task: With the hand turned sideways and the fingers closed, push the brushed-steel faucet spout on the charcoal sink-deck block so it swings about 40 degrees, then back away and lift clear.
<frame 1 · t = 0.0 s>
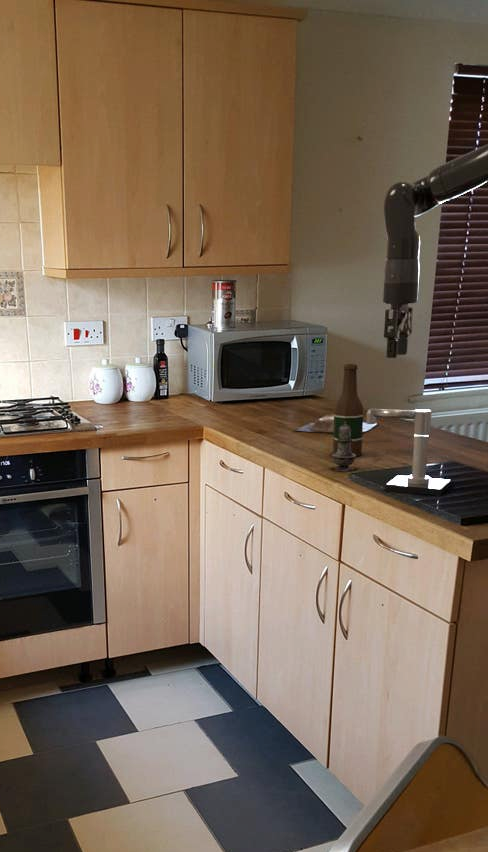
hand: (396, 356, 198), 28 cm above the countertop, tool pointing down, fingers open, 8 cm apart
spout: (397, 421, 195), point 15 cm above the countertop, hinge at 0.0°
faucet base: (417, 488, 198), on the countertop
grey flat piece: (337, 428, 279), on the countertop
grey figurine: (343, 470, 219), on the countertop
pill bottle: (348, 444, 253), on the countertop
beer bottle: (347, 455, 237), on the countertop
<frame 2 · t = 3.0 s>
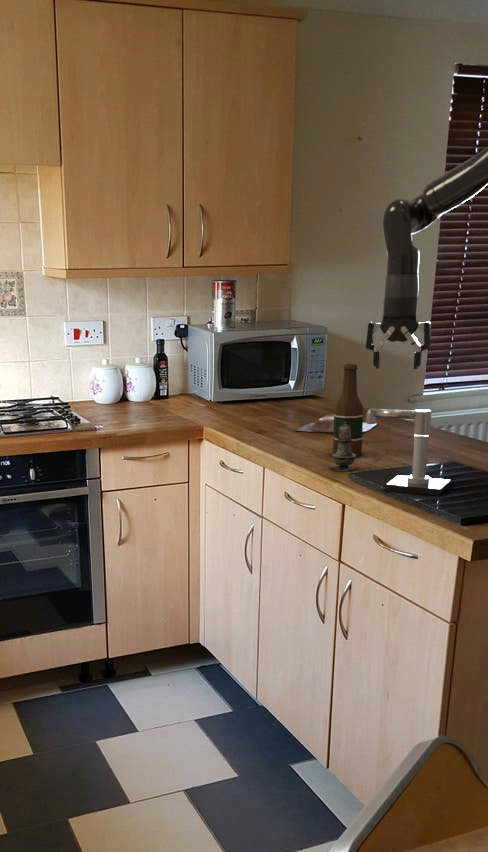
hand: (396, 368, 203), 25 cm above the countertop, tool pointing down, fingers open, 8 cm apart
nothing on the countertop moved.
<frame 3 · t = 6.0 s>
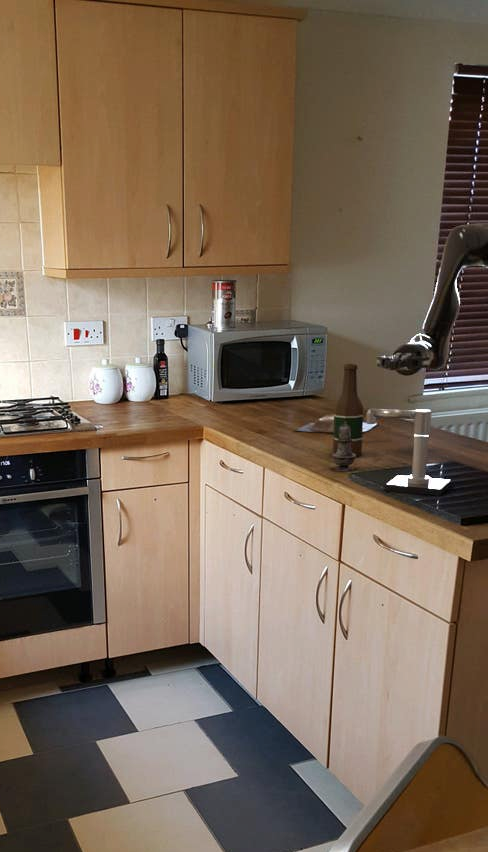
hand: (392, 365, 201), 26 cm above the countertop, tool horizontal, fingers closed
nothing on the countertop moved.
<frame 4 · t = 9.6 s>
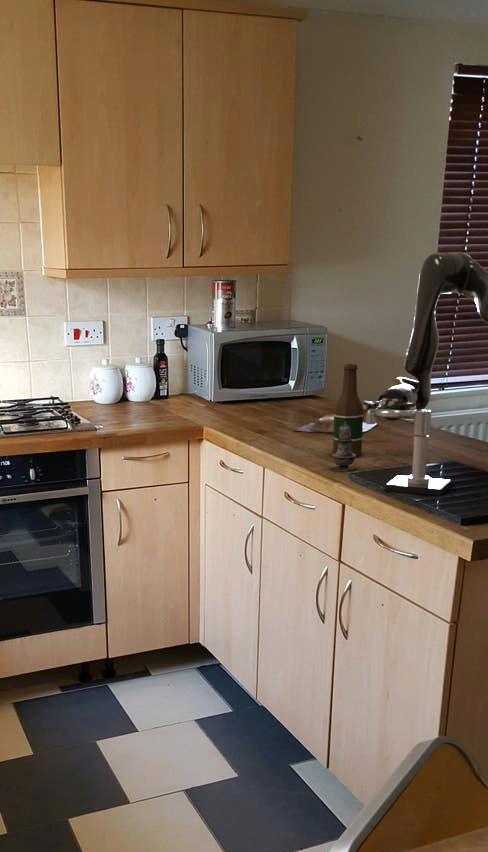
hand: (380, 412, 197), 16 cm above the countertop, tool horizontal, fingers closed
spout: (397, 421, 195), point 15 cm above the countertop, hinge at 1.1°, touching gripper
everything else where it was.
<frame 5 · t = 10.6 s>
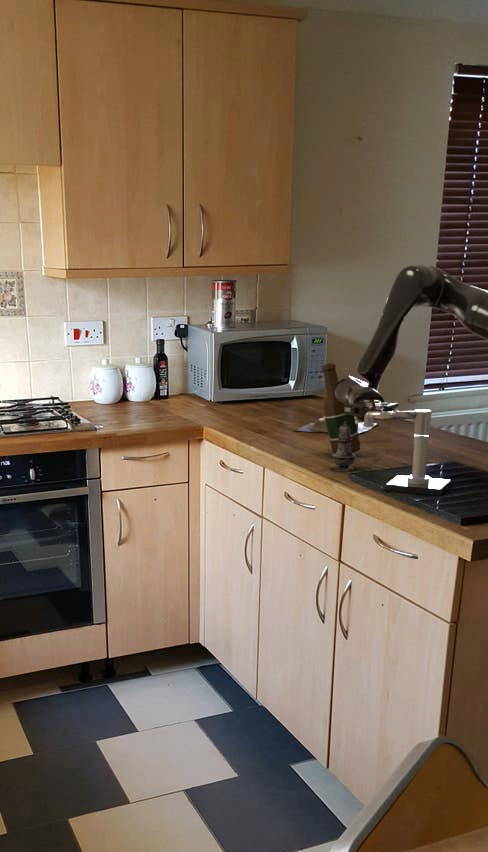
hand: (377, 414, 194), 16 cm above the countertop, tool horizontal, fingers closed
spout: (397, 422, 193), point 15 cm above the countertop, hinge at 21.6°, touching gripper
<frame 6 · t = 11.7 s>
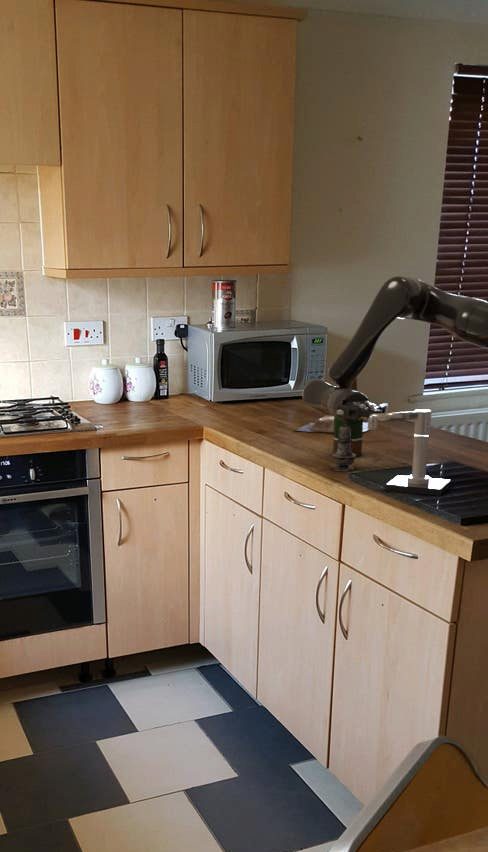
hand: (378, 416, 192), 17 cm above the countertop, tool horizontal, fingers closed
spout: (399, 423, 192), point 15 cm above the countertop, hinge at 38.8°
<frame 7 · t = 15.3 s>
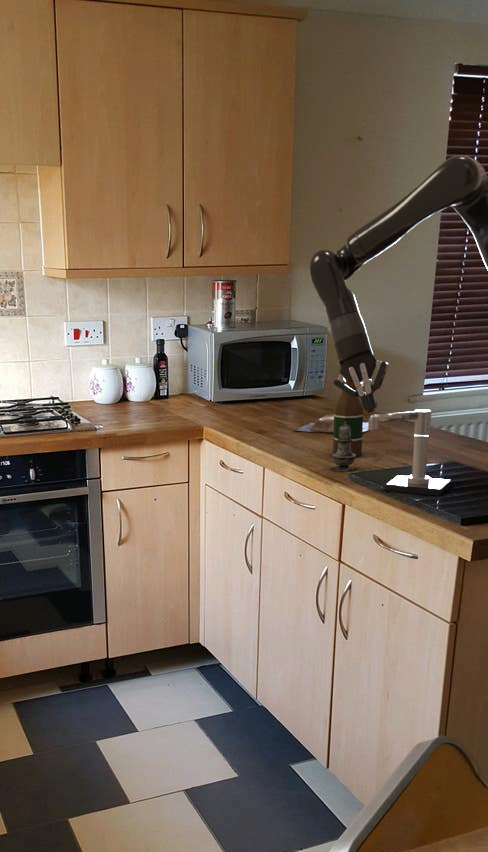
hand: (371, 411, 196), 17 cm above the countertop, tool tilted 25°, fingers closed
spout: (399, 423, 192), point 15 cm above the countertop, hinge at 40.7°
everything else where it was.
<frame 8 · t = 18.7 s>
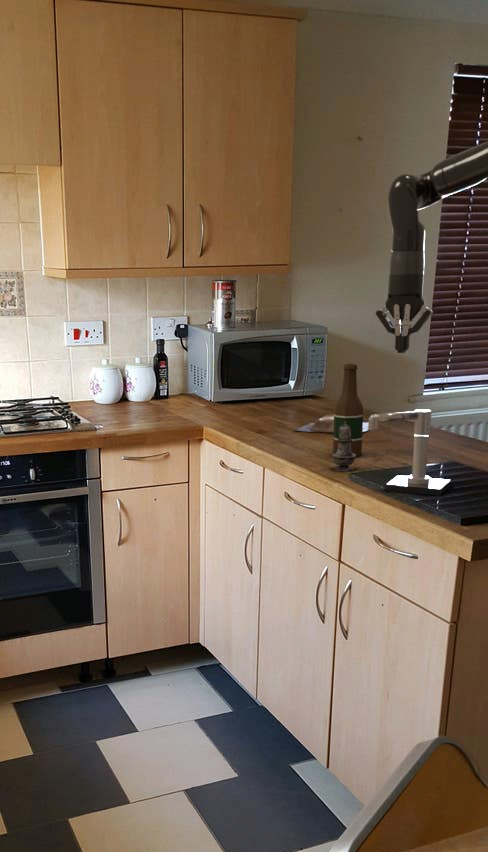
hand: (401, 352, 200), 29 cm above the countertop, tool pointing down, fingers closed
nothing on the countertop moved.
at the end: spout at +41° (first picture: +0°) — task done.
